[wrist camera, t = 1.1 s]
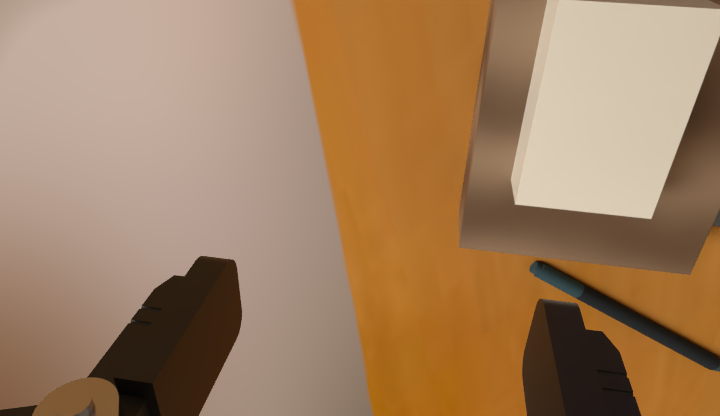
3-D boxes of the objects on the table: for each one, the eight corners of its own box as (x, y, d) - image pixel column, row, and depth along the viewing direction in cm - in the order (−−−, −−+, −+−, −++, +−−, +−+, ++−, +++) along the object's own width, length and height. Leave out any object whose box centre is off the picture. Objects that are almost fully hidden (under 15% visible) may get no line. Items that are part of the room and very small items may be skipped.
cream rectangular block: (549, -12, 22) (558, -1, 20) (703, -3, 21) (729, 9, 19) (510, 179, 27) (515, 204, 25) (635, 192, 26) (651, 219, 24)
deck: (512, -139, 23) (520, -143, 20) (809, -129, 22) (872, -132, 19) (459, 210, 33) (459, 247, 29) (665, 232, 31) (689, 274, 28)
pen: (720, 369, 36) (727, 383, 35) (526, 266, 35) (528, 277, 34) (732, 360, 36) (740, 374, 35) (536, 254, 34) (539, 266, 33)
